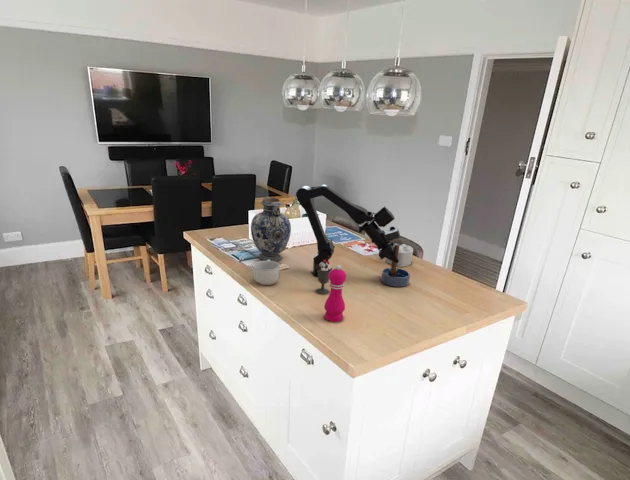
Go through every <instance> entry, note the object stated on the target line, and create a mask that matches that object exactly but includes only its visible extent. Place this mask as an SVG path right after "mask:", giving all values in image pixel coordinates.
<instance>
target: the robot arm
mask: <svg viewBox="0 0 630 480" xmlns="http://www.w3.org/2000/svg"><path fill="white" fill-rule="evenodd" d="M318 197H323V198H325V199H327V200H328V201H329V202H331V203H332V204H334V205H336V206H337V207H338V208H340V209H341V210H342V211H344V212H345V213H346V214H347V215H348V217H349V218H350V219H351V220H352V221H353V222H354V223H355V224H357V225H358V233H359V234H360V233H362V232H364V233H365V234H366V235H367V236H368V238H369V239H370V241H371V243H372V244H374V245H375V247H376V248H377V250H378V257H379V258H380V260H383V259H386V260H387V259H389V260H392V261H394V262H396V263H398V262H399V261H398V260H399V259H397V257H396V255H395V253H394V252H393V251H394V246H393V245H394V244H395V243H394V241H393V240H396V239H397V240H398V239H400V238H401V233H400V230H399V227H395V226H394V225H392V226H389V229H388V230H387V231H385V230H383V229H381V228H386V226H387V225H388V224H390V223H392V222H393V221H394V220H395V219H396V218H395V216H394V214H393V213H392V212H391V211H390V210H389V208H387V207H386V206H385V205H383V206H382V207H381V208H380V209H379V210H378V211H376V212H372V211H370V210H369V211H368V210H367V209H366V208H365V207H363V206H360V205H358V204H355V203H352V202H351V201H350V200H348V199H346V198H345V197H344V196H342V195H341V194H339V193H338V192H337V191H335V190H334V189H333V188H331V187H329V185H327V184H322V185H315V186H314V185H313V186H309V185H303V186H301V187H300V188H299V189H297V190H296V192H295V198H296V200H297V201H298V203H299V205H300V206H301V208H302V209H304V211H305V214H306V217H307V219H308V222H309V224H310V226H311V229H312V232H313V234H314V237H315V240H316V246H317V247H316V248H317V252H316V254H315V255H314V257H313V260H312V261H313V263H312V264H313V266H312V270H311V273H312V274H313V275H314V277H318V271H317V270H316V267H317V264H318V265H319V264H320V263H321V262H322V261H323V260H325V259H326V262H327V261H329V260H330V259H331V258H332V256H333V255H334V253H335V248H336V247H335V245H334V243H333V239H332V238H330V239H329V238H328V237H327V235H326V233H325V230H324V227H323V225H322V222H321V220H320V217H319V215H318V211H317V209H316V206H315V198H318ZM391 241H392V242H391ZM328 256H330V257H329V258H327V257H328Z"/></svg>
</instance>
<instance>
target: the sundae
mask: <svg viewBox="0 0 630 480" xmlns="http://www.w3.org/2000/svg"><path fill="white" fill-rule="evenodd" d="M329 257H330V256H328V257H327V258H329ZM316 270H317V271H318V276H317V279H318V282H319V283H320V284H321V286H320V288H317V289H316V293H317V294H320V295H327V294H329V293H330V291H329V290H328V289H327V288H325V285H326V284H327V283H328V282H329V281H330V280H329V273H330V271H331V270H333V267H332V266H331V263H330V261H329V260H328V261H327V262H326V259H325V260H323V261H322V262H321V263H320V264H319V265H318V264H317V267H316Z"/></svg>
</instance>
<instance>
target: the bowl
mask: <svg viewBox="0 0 630 480" xmlns="http://www.w3.org/2000/svg"><path fill="white" fill-rule="evenodd" d="M389 268H390V267H385V268H383V269H381V275H380V281H381V282H382V283H383V284H385V285H387V286H390V287H394V288H395V287H396V288H400V287H406V286H408V285H409V283H410V278H411V273H410V272H409V271H408V270H405V269H402V268H400V267H396V269H397V270H398V271H397V276H396V277H392V276H389V275H388V274H389Z"/></svg>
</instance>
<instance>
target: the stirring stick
mask: <svg viewBox="0 0 630 480" xmlns="http://www.w3.org/2000/svg"><path fill="white" fill-rule="evenodd" d="M394 244H395V245H394V251H393V252H394V253H395V255H396V257H397V259H398V253H399V246H400V245H401V244H398V243H394ZM388 268H389V274H388V275H389V276H392V277H396V276H397V271H398V270H397V269H396V268H397V263H396V262H394V261H392V264H390V267H388Z"/></svg>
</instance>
